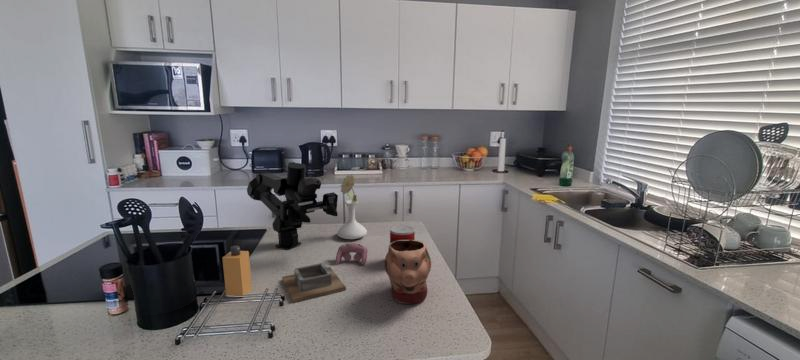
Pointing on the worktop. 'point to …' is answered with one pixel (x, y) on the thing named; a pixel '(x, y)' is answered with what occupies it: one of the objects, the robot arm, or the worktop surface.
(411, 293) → the decorative planter
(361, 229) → the flower in vase
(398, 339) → the worktop surface
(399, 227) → the canned food
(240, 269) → the plug
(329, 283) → the holder
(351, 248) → the video game controller
